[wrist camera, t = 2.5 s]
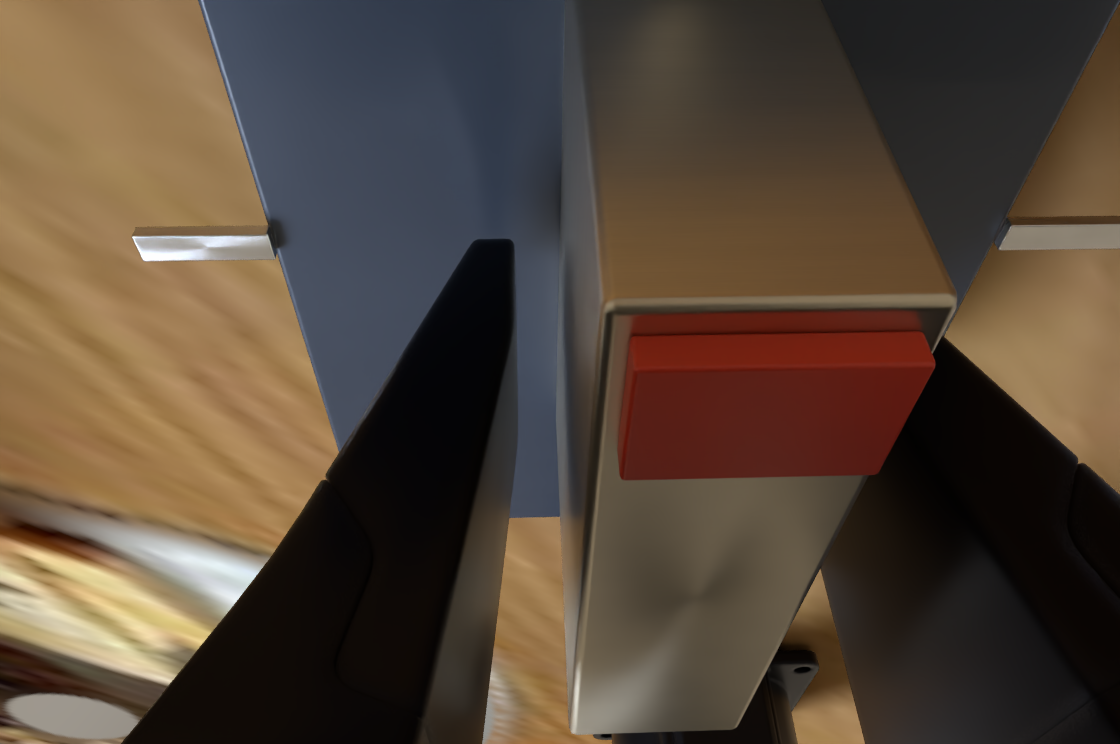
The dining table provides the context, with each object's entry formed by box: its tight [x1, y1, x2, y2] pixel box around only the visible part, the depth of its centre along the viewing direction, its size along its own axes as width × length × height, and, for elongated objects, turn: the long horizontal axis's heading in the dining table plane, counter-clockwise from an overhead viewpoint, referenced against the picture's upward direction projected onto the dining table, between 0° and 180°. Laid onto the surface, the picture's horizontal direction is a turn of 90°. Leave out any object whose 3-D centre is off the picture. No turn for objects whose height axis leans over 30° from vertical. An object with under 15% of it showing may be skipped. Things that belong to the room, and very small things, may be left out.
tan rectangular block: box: [556, 0, 957, 735], centre depth 8 cm, size 6×2×4 cm, turn 179°
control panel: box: [132, 0, 1120, 518], centre depth 10 cm, size 12×11×3 cm
